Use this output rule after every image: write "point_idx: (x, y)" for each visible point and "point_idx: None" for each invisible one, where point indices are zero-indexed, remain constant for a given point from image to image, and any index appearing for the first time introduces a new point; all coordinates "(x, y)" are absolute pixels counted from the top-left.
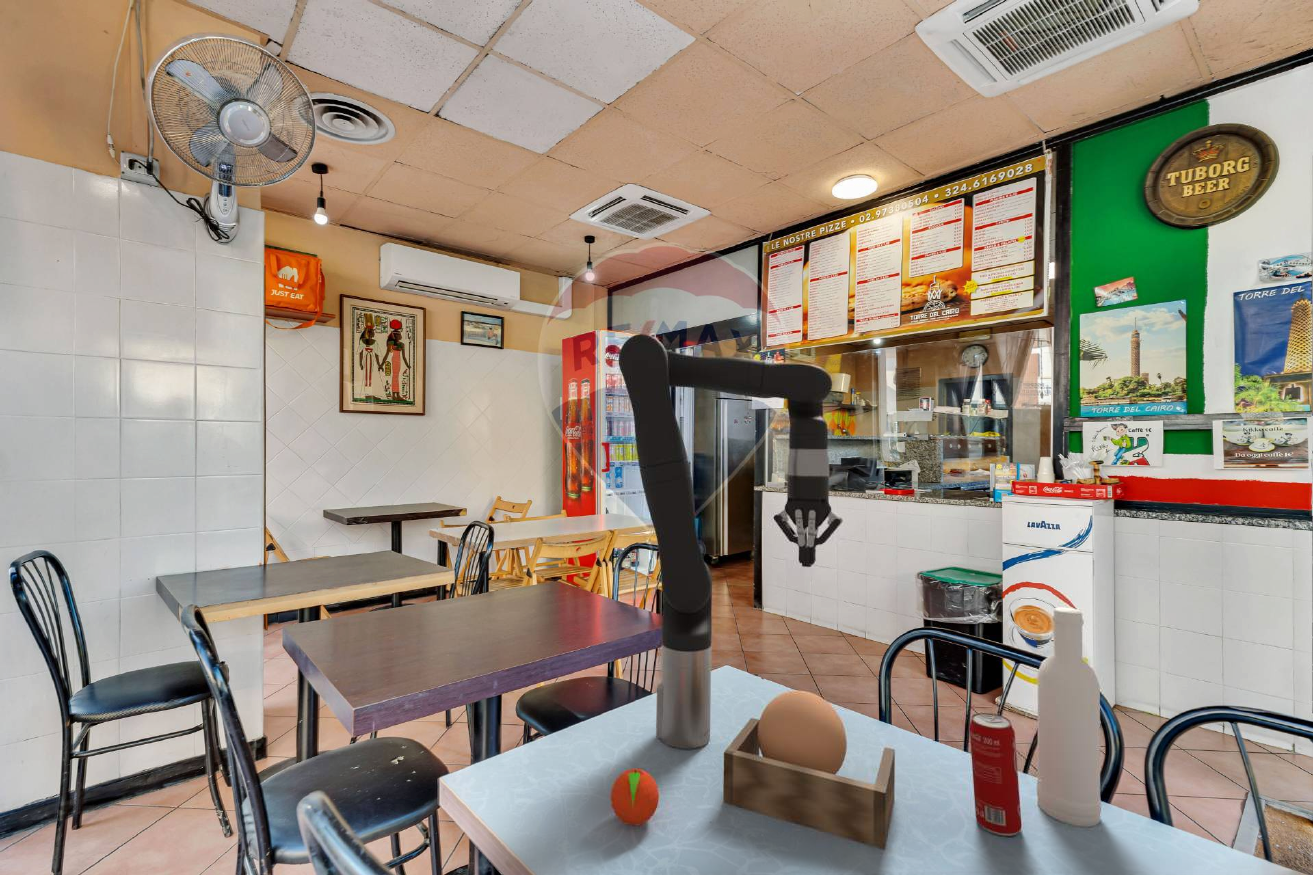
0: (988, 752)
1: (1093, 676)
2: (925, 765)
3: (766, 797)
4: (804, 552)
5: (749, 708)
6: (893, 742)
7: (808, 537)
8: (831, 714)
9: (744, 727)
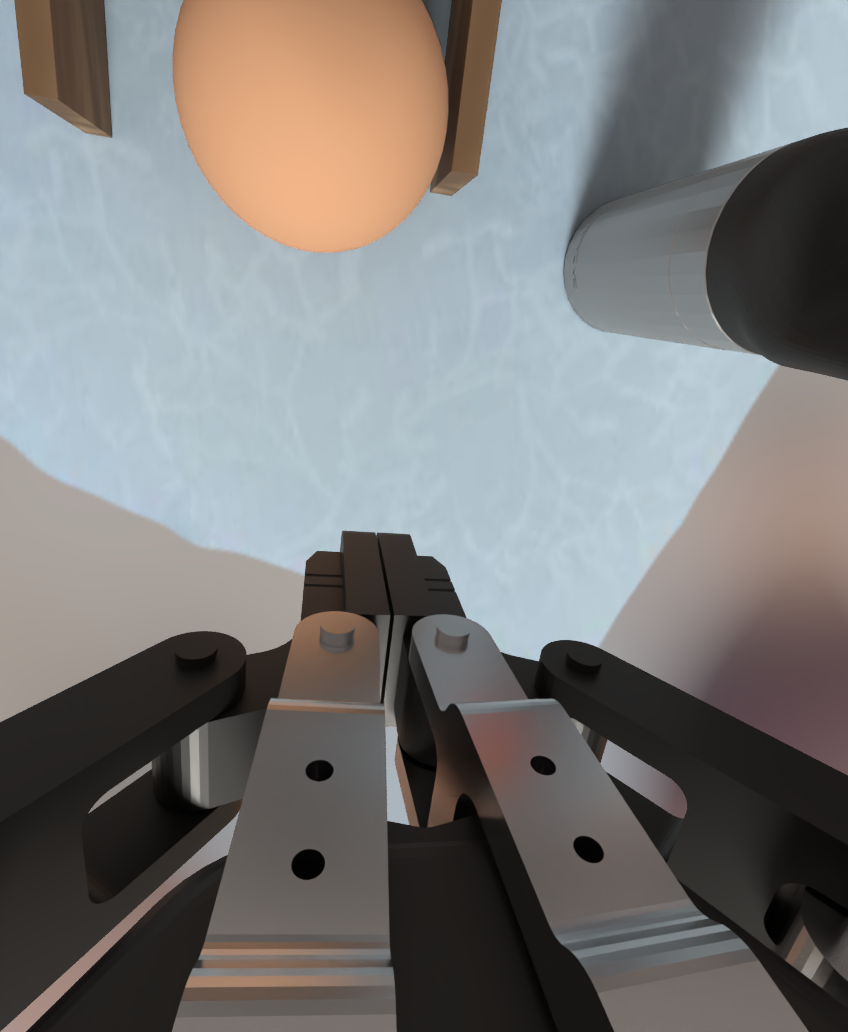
0: None
1: None
2: (41, 349)
3: None
4: (400, 587)
5: (496, 489)
6: (135, 445)
7: (369, 683)
8: (200, 29)
9: (486, 89)
